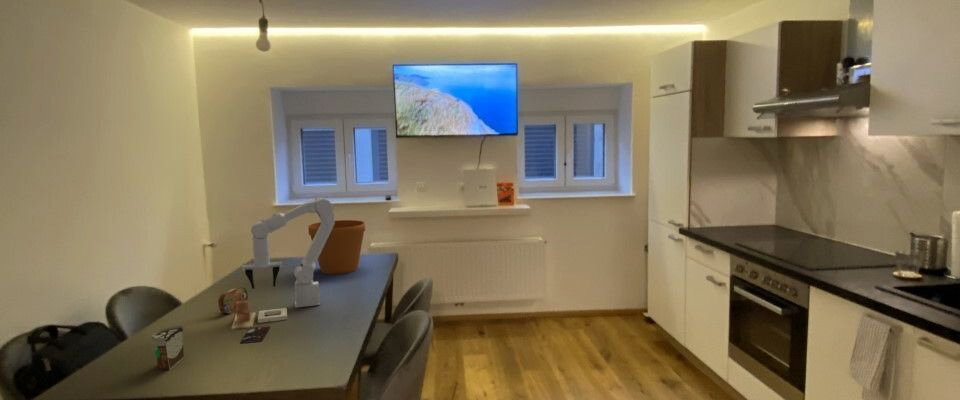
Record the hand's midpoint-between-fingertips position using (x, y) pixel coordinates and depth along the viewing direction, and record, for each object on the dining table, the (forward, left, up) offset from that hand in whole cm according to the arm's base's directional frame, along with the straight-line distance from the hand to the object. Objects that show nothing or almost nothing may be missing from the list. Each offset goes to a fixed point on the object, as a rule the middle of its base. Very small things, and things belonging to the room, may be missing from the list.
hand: (263, 287), depth 211 cm
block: (+7, +11, -9) cm, 16 cm away
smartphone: (+2, +28, -10) cm, 30 cm away
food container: (+26, +44, -10) cm, 52 cm away
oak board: (+7, +11, -9) cm, 16 cm away
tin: (+12, -6, -10) cm, 17 cm away
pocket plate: (-3, +10, -9) cm, 14 cm away
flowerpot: (-33, -58, -10) cm, 67 cm away
